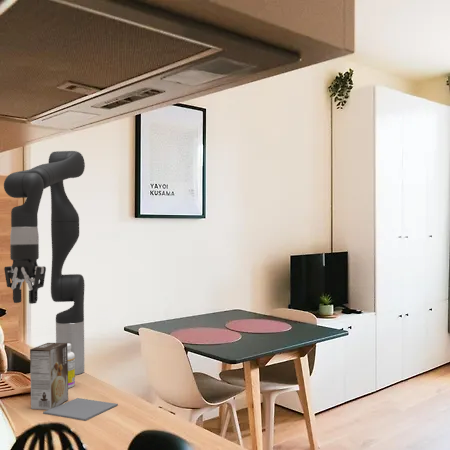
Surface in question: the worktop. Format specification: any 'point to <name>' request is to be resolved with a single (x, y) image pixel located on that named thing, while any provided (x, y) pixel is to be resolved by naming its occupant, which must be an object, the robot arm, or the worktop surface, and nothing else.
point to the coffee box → (49, 375)
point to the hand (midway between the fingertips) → (25, 302)
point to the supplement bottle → (71, 366)
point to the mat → (80, 409)
